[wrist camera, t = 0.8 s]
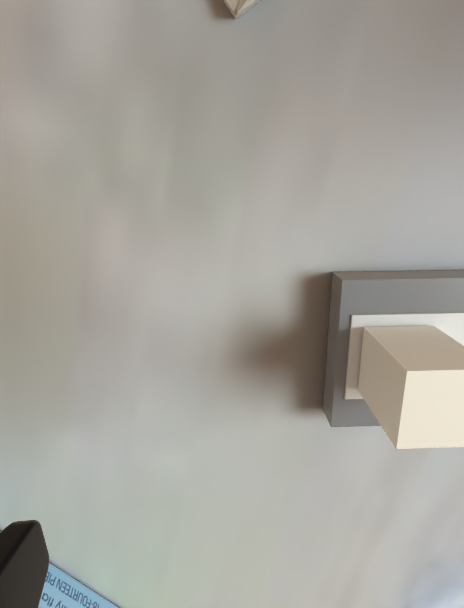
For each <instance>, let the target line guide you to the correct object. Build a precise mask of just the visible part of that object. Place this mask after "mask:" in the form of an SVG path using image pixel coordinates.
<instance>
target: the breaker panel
mask: <svg viewBox="0 0 464 608" xmlns="http://www.w3.org/2000/svg"><path fill="white" fill-rule="evenodd" d="M394 326H435V327H437V328H438V329H440V330H441V331H443V332H444V333H445V334H447V335H448V336H450V337H451V338H453V339H454V340H456V341H457V342H459V343H460V344H462V345H463V346H464V270H421V271H362V272H332V285H331V300H330V314H329V329H328V343H327V358H326V372H325V387H324V401H323V410H324V413H325V415H326V417H327V419H328V421H329V423H330V426H331V427H351V426H381V425H380V423H379V422H378V420H377V419H376V417H375V416H374V414H373V413H372V411H371V410H370V408H369V407H368V405H367V404H366V402H365V401H364V399H363V398H362V396H361V395H360V393H359V392H358V382H359V372H360V362H361V352H362V341H363V331H364V327H394Z"/></svg>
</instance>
